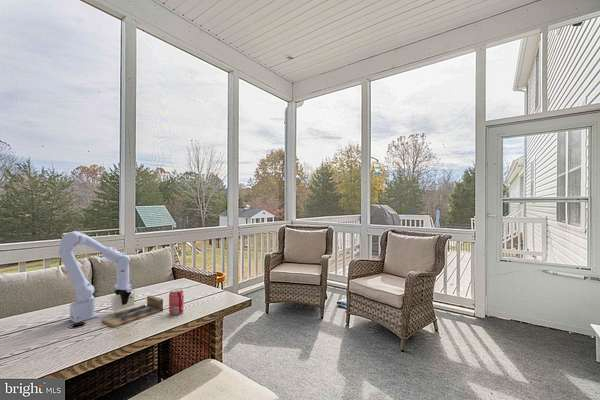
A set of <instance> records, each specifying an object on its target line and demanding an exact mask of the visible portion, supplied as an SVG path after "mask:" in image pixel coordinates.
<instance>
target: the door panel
mask: <svg viewBox="0 0 600 400" xmlns="http://www.w3.org/2000/svg"><path fill="white" fill-rule="evenodd" d="M110 297H111V298H110V299H111V302H110V309H111V311H113V312H116V311H118V310H123V309H125V308H129V307H133V306H135V292H134V291H132V292H131V294H130V296H129V298H128V302H127V304H124V305H122V301H121V296H120V294H119V295H116V294H115V295H112V296H110Z"/></svg>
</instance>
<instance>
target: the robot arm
mask: <svg viewBox="0 0 600 400" xmlns="http://www.w3.org/2000/svg"><path fill="white" fill-rule="evenodd" d="M77 245H78V246H82V245H84V246H88V247H90V248H92V249H94V250H96V251H97V252H100V253H101V256H102V257H103V258H105V259H107V260H109V261H111V262H112V263H115V265H116V266H117V267H116V268H117V269H116V283H115V284H114V291H113V292H114V294H115V295H119V294H120V296H121V301H122V305H124V304H127V302H128V298H129V296H130V294H131V292H133V288H132V284H130V261H131V259H130V256H129V255H128V254H126V253H124V252H120V251H119V250H118V249H116V247H115V246H113V247H112V246H108V247H106V246H105V245H103V244H102V243H101V242H99V241H98V240H95V239H94V238H92V237H91V236H89V235H87V234H85V233H82V232H81V231H79V230H73V231H70V232H67V233H65V234H64V235H63V237H62V238H61V239H60V244H59V248H58V251H57V252H58V255H59V257H60V259H61V262H62V263H63V265H64V267H65V269H66V271H67V273H68V275H69V277H70V279H71V281H72V283H73V285H74V292H75V299H76V301H74V302H73V303H70V305H69V321H72V322H73V323H75V324H77V323H80V322H82V321H86V320H89V319H93V318H96V317H98V314H96V313H95V296H94V293H95V292H96V291H95V290H96V289H95V286H94V285H93V284H91V283H90V281H89V280H88V279H87V278H86V276H85V274H84V272H83V270H82V267H81V266H80V263H78V260H77V258H76V255H75V254H74V249H75V248H76V247H77Z"/></svg>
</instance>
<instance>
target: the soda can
mask: <svg viewBox="0 0 600 400" xmlns="http://www.w3.org/2000/svg"><path fill="white" fill-rule="evenodd" d="M184 294H185V292H184V291H183V289H182V288H173V289H170V293H169V294H168V311H169V314H170V315H172V316H178V315H180V314H182V313H183V312H184V310H185V309H184V307H185V305H184V304H185V303H184V302H185V298H184V297H185V295H184Z"/></svg>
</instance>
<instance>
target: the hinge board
mask: <svg viewBox="0 0 600 400" xmlns="http://www.w3.org/2000/svg"><path fill="white" fill-rule="evenodd" d="M163 311H164V299H162V298H160V297H157V296H153V295H147V296H146V304H142V305H138V306H136V307H132V308H129V309H125V310H122V311H120V312H119V311H118V312H116V313H115V315H113V316H110V317H106V318H104V319H101V323H103V324H105V323H106V324H105V325H107V326H109V327H111V328H114V329H115V328H118V327H121V326H123V325H127V324H128V323H132V322H135V321H137V320H140V319H143V318H146V317H148V316H149V317H150V316H152V315H155V314H157V313H160V312H163ZM120 325H121V326H120Z"/></svg>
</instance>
